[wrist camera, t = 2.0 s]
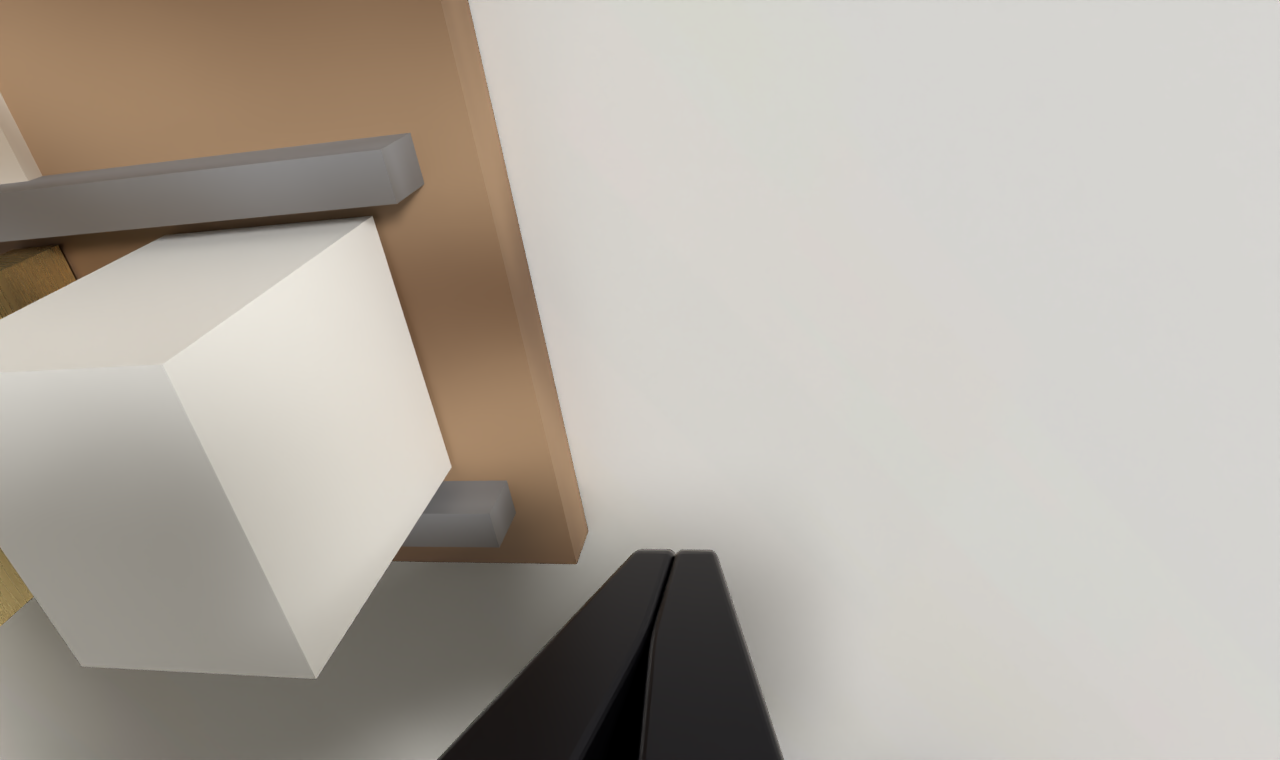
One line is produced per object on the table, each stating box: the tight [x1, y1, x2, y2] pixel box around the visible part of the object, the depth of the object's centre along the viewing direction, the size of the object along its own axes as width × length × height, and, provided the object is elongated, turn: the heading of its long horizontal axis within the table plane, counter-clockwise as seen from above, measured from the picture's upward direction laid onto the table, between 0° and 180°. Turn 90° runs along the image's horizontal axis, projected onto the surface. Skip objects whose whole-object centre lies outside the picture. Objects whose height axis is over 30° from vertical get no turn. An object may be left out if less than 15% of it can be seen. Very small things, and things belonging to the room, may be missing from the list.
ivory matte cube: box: [0, 216, 452, 679], centre depth 13 cm, size 5×6×5 cm
